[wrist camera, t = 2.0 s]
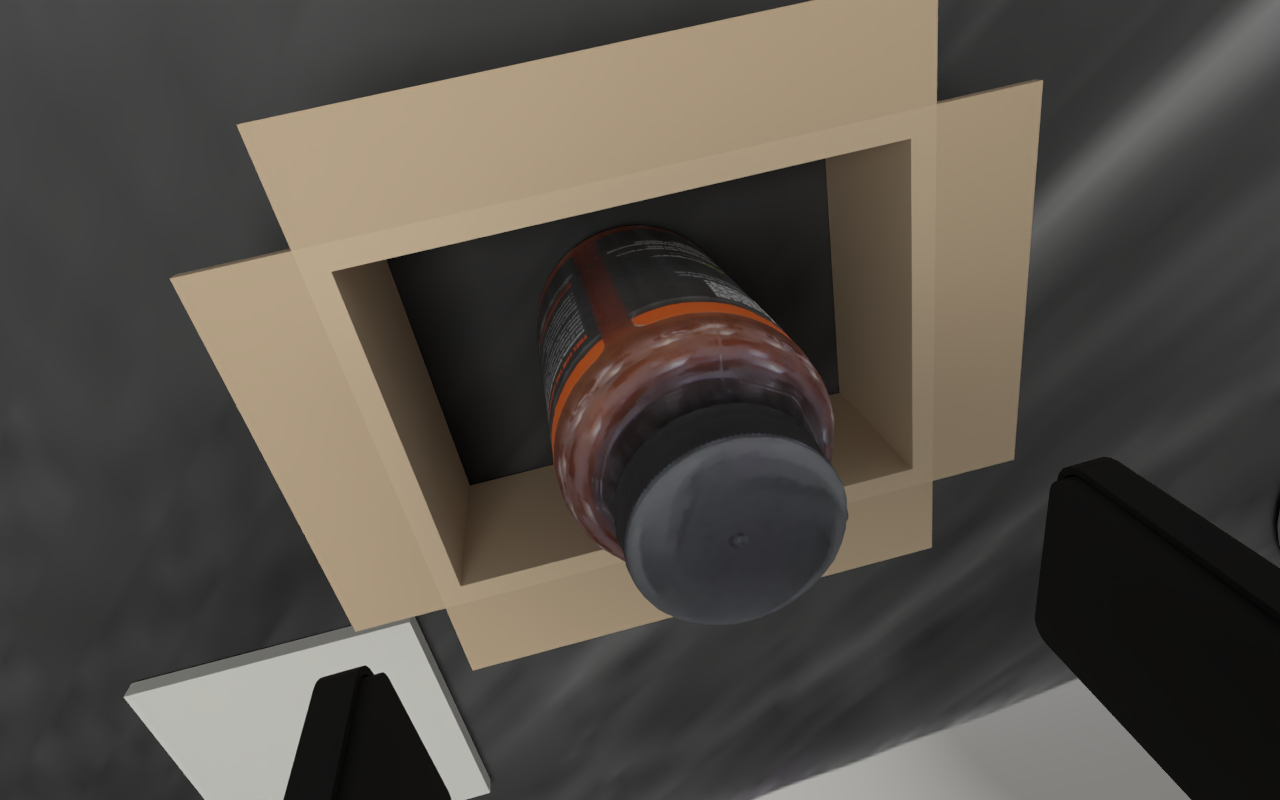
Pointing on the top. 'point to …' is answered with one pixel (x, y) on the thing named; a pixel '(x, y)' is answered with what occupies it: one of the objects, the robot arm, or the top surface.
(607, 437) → the supplement bottle
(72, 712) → the top surface
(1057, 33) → the top surface
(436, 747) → the mat
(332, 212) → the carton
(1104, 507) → the robot arm
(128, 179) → the top surface
